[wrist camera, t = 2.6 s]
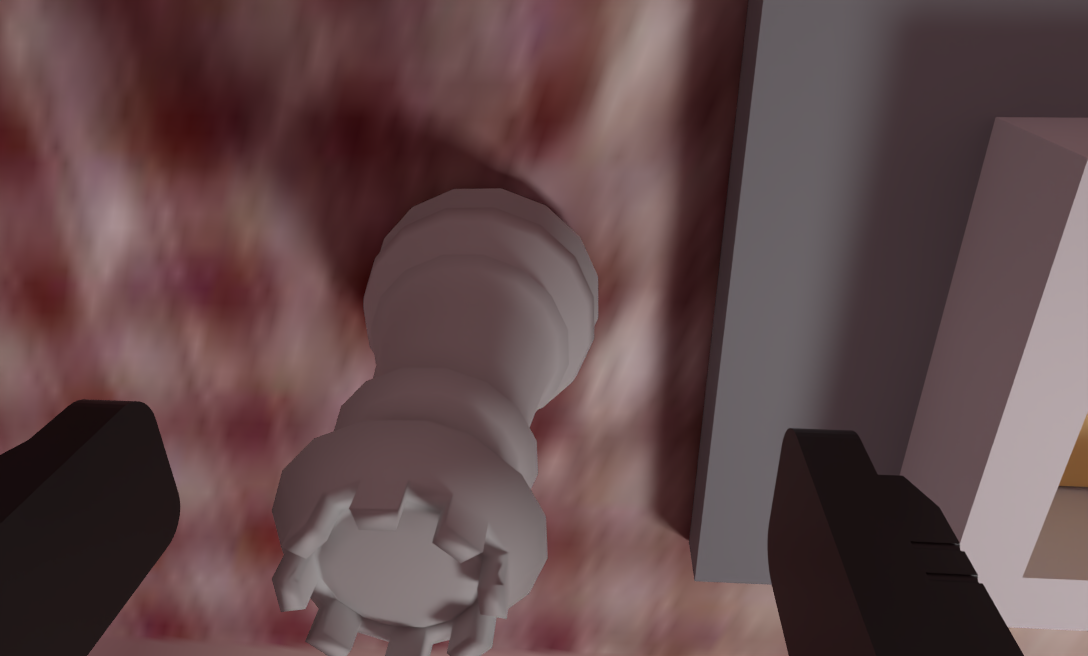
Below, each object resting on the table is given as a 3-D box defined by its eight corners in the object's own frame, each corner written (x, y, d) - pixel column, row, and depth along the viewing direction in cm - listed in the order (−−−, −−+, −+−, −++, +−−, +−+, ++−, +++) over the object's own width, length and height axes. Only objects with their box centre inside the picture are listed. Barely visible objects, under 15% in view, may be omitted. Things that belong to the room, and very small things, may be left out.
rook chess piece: (386, 159, 14) (165, 386, 7) (621, 201, 14) (644, 471, 7) (373, 361, 16) (192, 698, 9) (577, 397, 16) (560, 759, 9)
